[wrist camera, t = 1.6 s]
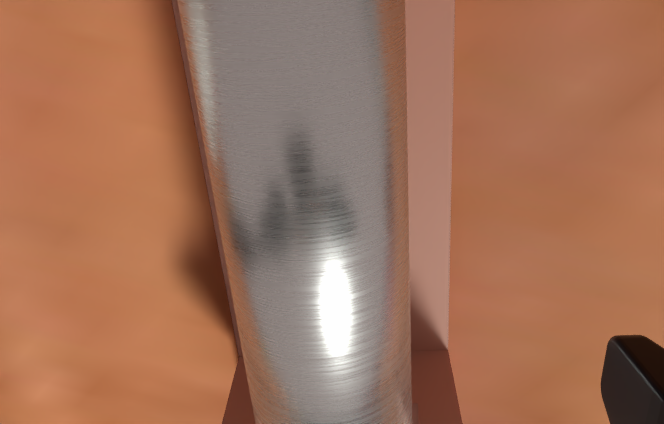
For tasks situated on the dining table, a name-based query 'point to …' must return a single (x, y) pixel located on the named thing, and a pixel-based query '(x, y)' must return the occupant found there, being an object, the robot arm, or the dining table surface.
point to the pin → (311, 198)
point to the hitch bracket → (424, 213)
